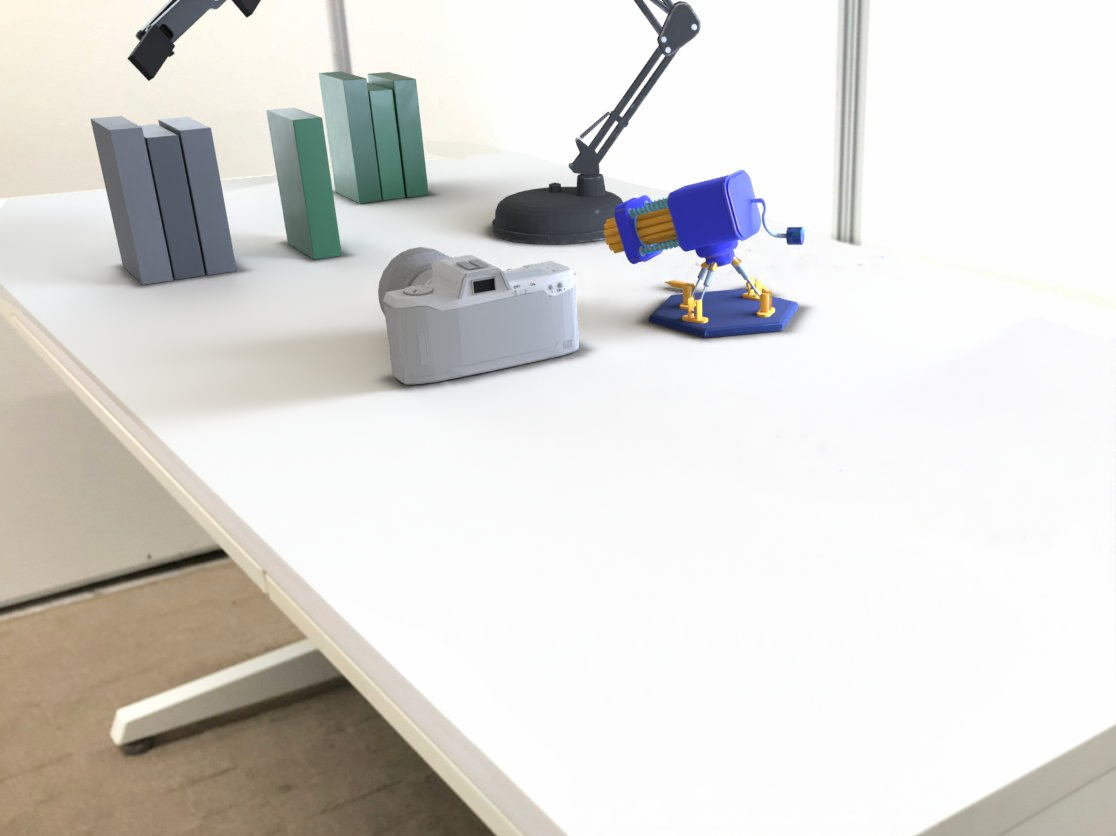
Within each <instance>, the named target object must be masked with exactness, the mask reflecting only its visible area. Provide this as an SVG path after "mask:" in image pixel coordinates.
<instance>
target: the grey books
mask: <svg viewBox="0 0 1116 836" xmlns="http://www.w3.org/2000/svg"><path fill="white" fill-rule="evenodd" d="M157 121H158V124H157V123H151V124H140V125H139V124H137V123H135V122H133V121H131V120H129V119H127V118H126V117H124V116H122V115H119V116H116V115H115V116H107V117H93V118H90V124H91V129H92V132H93V137H94V141H95V147H96V150H97V155H98V159H99V164H100V169H101V174H102V178H103V183H104V187H105V191H106V192H105V193H106V196H107V200H108V205H109V210H110V214H111V219H112V224H113V228H114V232H115V237H116V242H117V246H118V250H119V255H120V259H121V264H122V268H124V269H125V270H126V271H127V272H128V273H129V274H130V275H132V277H134V278H135V279H136V280H137V282H139V283H140V284H141V285H142V286H145V285H153V284H159V283H165V282H172V281H174V280H175V281H176V280H177V281H178V280H183V279H191V278H197V277H204V276H206V275H207V276H214V275H221V274H227V273H233V272H237V271H238V269H237V263H236V258H235V252H234V248H233V247H234V246H233V242H232V235H231V231H230V225H229V220H228V214H227V208H226V203H225V196H224V192H223V186H222V181H221V175H220V169H219V165H218V159H217V152H216V148H215V142H214V141H215V140H214V137H213V136H214V135H213V130H212V127H210V126H209V125H206V124H203V123H201V122H200V121H197V120H195V119H193V118H191V117H189V116H181V117H170V118H159V119H157Z"/></svg>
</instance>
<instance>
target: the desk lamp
mask: <svg viewBox="0 0 1116 836" xmlns="http://www.w3.org/2000/svg"><path fill="white" fill-rule="evenodd" d="M649 1H650V2H651V3H652V4H654V5H655V6H656V7H657V8H659V9H660V10H661V11H663V12H664V13H665V14H666V15H667V16H666V18H665V20H664V22H663V24H662V25H661V23H660V22H659V20H658V19H657V18H656V17H655V15H654V13H653V12H652V11H651V9H650V7H649V6H648V5H647V4H646V1H644V0H633V2H634V3H635V5H636V6H637V7H638V9H639V10H640V12H641V13H642V14H643V16H644V17H645V18H646V20H647V21H648V23H649V24H650V25H651V27H652V28H653V29H654V32H656V34H657V37H656V41H657V44H658V46H657V47H656V49H655V50H654V51H653V52H652V54H651V56H650V57H649V59H648V60H647V61H646V63H645V64H644V66H643V67H642V68H641V70H640V71H639V73H638V75H637V76H636V77H635V78H634V80H633V81H632V83H631V84H630V86H629V87H628V89H627V90H626V91H625V92H624V95H622V97H621V99H620V100H619V102H618V103H617V104H616V106H615V107H614V109H613V110H610V111H606V112H605V113H604V114H602V116H601V117H599V118H598V119H597V120H596V121H595V122H594V123H592V124H591V126H589V127H587V129H585V131H583V132H582V133H580V135H579V137H575V138H574V139H575V145H576V147H577V149H578V152H579V153H578V154H577V156H576V157H575V158H574V160H573V161H572V162H570V163H568V168H569V169H570V170H571V171H572V173H573V174H577V176H576V186H562V183H561V182H552V183H549V184H548V187H538V188H532V189H531V188H530V189H526V190H522V191H519V192H514V193H511V194H509V195H507V196H505V197H504V198H502V199H501V200H500V201H499V202H498V203H497V205H496V207H495V210H494V211H495V212H494V218H493V219H492V221H491V227H492V234H493V235H494V236H496V237H497V238H500V239H503V240H506V241H510V242H516V243H521V244H522V243H523V244H534V245H535V244H536V245H567V244H568V245H569V244H581V243H582V244H583V243H589V242H597V241H601V240H602V241H603V240H605V238H608V237H605V235H604V230H605V228H604V224H606V220H607V219H611V218H615V215H614V212H615V208H616V206H617V205H618V204H621V203H623V202H624V201H623V199H622V198H621V197H620V196H618V195H617V194H615V193H613V192H611V191H609V190H606V184H605V179H604V178H605V177H604V174H602V173H600V163H601V162H602V160H603V159H604V158H605V156H606V155H607V153H608V152H609V151H610V149H611V147H612V146H613V145H614V144H615V142H616V140H618V138H619V136H620V135H621V133H622V132H623V130H624V129H625V128H627V127H628V125H630V124H629V123H630V121H631V119H632V118H633V116H634V115H635V113H636V112H637V110H639V108H640V107H641V105H642V103H643V102H644V101H645V99H646V97H647V96H648V95H649V93H650V92H651V90H652V89H653V88H654V86H656V84H657V82H658V81H659V79H660V78H661V76H662V75H663V74H664V72H665V71H666V69H667V68H668V66H669V65H670V64H671V62H672V61H673V59H674V58H675V56H676V55H677V53H678V52H679V50H680V49H681V48H683V47H684V46H685V45H687V44H688V43H689V42H691V41H692V40H693V39H695V38H696V37H697V36H698V35H699V33H700V30H701V29H702V28H701V21H700V19H699V16H698V15H697V13H696V12H695V10H694V9H693V8H692V6H691V5H690V4H689V3H688V2H687V1H683V0H678V1H676V2H674V1H672V0H649ZM662 55H663V56H664V57H663V59H661V61H660V63H659V64H658V65H657V67H656V68H655V70H654V71H653V73H652V74H651V75H650V77H649V78H648V80H647V81H646V82H645V80H646V78H647V77H648V75H649V74H650V73H651V71H652V70H653V68H654V66H655V65H656V64H657V62H658V61H659V60H660V58H661V57H662ZM643 82H645V84H644V85H643V87H642V88H641V90H640V91H639V92H638V94H636V92H637V91H638V89H639V88H640V87H641V85H642V84H643ZM635 94H636V95H637V96H636V97H635V99H633V101H632V103H631V104H630V105H629V107H628V109H626V111H625V113H624V114H623V116H621V114H622V113H623V111H624V110H625V108H626V107H627V105H628V104H629V102H631V99H632V98H633V96H634V95H635ZM607 117H608V118H607ZM606 118H607V119H606ZM605 119H606V120H605ZM604 120H605V122H604V123H603V125H602V126H601V127H600V129H599V130H598V131H597V133H596V134H595V136H594V138H593V139H592V140H591V142H590V143H589V145H587V144H586V143H585V142H583V141H582V140H583V139H584V138H585V137H586V136H587V135H589V134H590V133H591V132H592V131H593V130H594V129H596V127H598V125H600V124H601V123H602V122H603V121H604ZM615 122H617V124H616V126H615V127H614V128H613V130H612V131H611V132H610V134H609V135H608V137H607V138H606V140H605V141H604V143H603V144H602V145H601V142H602V141H603V140H604V138H605V137H606V136H607V134H608V132H609V131H610V130H611V128H612V127H613V125H614V124H615ZM599 145H601V147H600V148H599V149H598V151H597V150H596V149H597V148H598V147H599ZM609 237H610V236H609Z"/></svg>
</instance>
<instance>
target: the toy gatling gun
mask: <svg viewBox="0 0 1116 836" xmlns="http://www.w3.org/2000/svg"><path fill="white" fill-rule="evenodd" d="M758 204H761V205H762V208H763V209H762V214H761V212H760V209H759V205H758ZM768 213H769V205H768V202H767V200H766V199H764V198H763V197H758V198H757V197H756V194H755V190H754V186H753V182H752V179H751V176H750V175H749V174H748V172H747V171H746V170H745V169H740V170H737V171H735V172H733V173H731V174H727V175H723V176H720V177H715V178H712V179H706V180H704V181H700V182H696V183H691V184H686V185H684V186H681V187H679V188H678V189H675V190H673V191H671V192H669V193H668V195H667V196H666V197H665V198H664V197H662V199H661V198H658V200H656V199H654V200H653V201H652V199H651V197H649V196H648V195H646V194H644V195H640V196H639V197H632V198H630V199H627V200H626V201H623V203H621V204H618V205H617V206H616V208H615V212H614V215H615V218H611V219H607V220H606V224H604V228H605V230H604V235H605V237H608V238H605V239H604V241H605V244H606V245H607V246H608V249H609V250H610V252H613V253H614V254H619V253H623V252H624V254H625V257H626V259H627V261H628V262H629V264H631V265H637V264H639V263H645V262H649V261H651V260H652V259H653V258H656V257H657V256H659V255H661V254H662V253H663V251H664V250H665V251H667V250H669V249H670V250H671V249H673V248H674V249H675V248H678V247H679V248H680V249H681V251H683V252H685V253H687V252H691V251H695V254H696V255H697V257H699V258H700V259H705V261H703V262H701V264H700V271H699V273H698V275H697V276H696V277H697V281H696V283H691V282H686V281H680V280H668V281H664V283H665V284H666V285H668V286H670V287H672V288H676V289H682V293H676V294H671V295H669V297H668V298H667V299H666V300H664V302H662V303H661V304H660V305H659V306H658V308H656V309H655V311H653V312H652V313H651V314H650V315H649V317H648V320H647V321H648V323H650V324H653V325H657V326H661V327H664V328H668V329H671V330H675V331H678V332H681V333H686V334H689V335H693V336H696V337H699V338H703V339H709V338H710V339H711V338H721V337H731V336H741V335H751V334H760V333H762V334H763V333H770V332H771V333H772V332H781V331H782V332H783V331H784V330H785V328H787V327H786V326H787V325H788V324H789V322H790V321H791V320H792V318H793V317H794V315H795V313H796V312H797V311H798V309H799V304H798V302H796V301H793V300H789V299H785V298H781V297H776V296H773V293H772V291H771V290H769V289H768V287H766V286H764V285H762V277H758V278H754V277H755V276H753V275H751V276H750V275H749V273H748V272H747V270H746V269H745V267H744V266H743V265H742V260H741V259H739V258H738V257H737V256H736V253H735V249H737V247H738V245H739V241H740V242H745V241H746V240H748V239H750V238H751V237H753V236H755V235H756V234H758V233H759V232H760V230H761V225H762V226H763V228H764V230H765V231H766V233H768V234H769V235H770V236H771V237H773V238H776V239H785V240H786V244H787V245H788V246H803V245H804V243H805V229H804V226H787V227H786V231H785V233H784V232H783V233H782V232H781V233H780V232H775V231H774V230H773V229H772V228H771V227H770V226H769V225H768V221H767V220H768V219H767V216H768ZM609 236H610V237H609ZM727 265H731V266H732V267H733V269H734V270H735V271H736V272H737V274H738V275H740V276H741V277H742V278H743V280H744V281H746V283H745V287H746V288H747V289H744V288H733V289H721V290H711V291H706V290H707V287H709V286H710V283H711V281H712V279H713V275H714V272H715V271H716V270H717V268H721V267H724V266H727ZM704 277H705V278H704ZM703 279H704V280H703ZM754 279H755V280H754ZM701 280H703V283H702V285H703V286H704V287H703V289H702V291H698V292H695V291H696V290H697V287H698V285H699V283H700V281H701Z"/></svg>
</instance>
